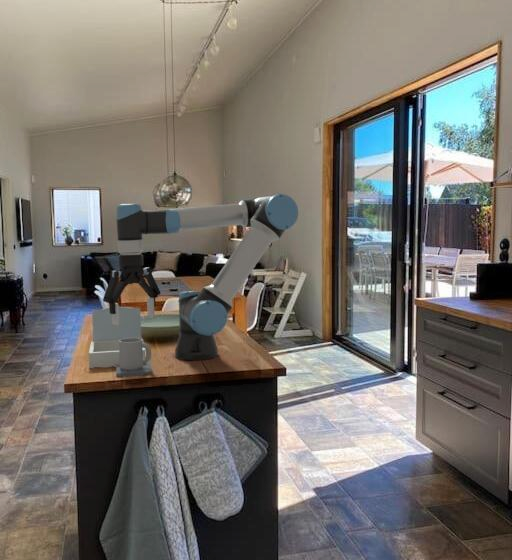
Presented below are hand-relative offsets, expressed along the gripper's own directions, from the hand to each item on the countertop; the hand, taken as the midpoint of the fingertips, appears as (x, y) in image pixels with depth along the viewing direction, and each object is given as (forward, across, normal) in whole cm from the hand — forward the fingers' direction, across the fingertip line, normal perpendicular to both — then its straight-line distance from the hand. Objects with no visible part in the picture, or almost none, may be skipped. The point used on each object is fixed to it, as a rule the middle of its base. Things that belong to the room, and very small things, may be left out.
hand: (134, 320), depth 178 cm
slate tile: (+16, +1, 0) cm, 16 cm away
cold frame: (+16, -6, -19) cm, 25 cm away
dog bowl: (+17, -48, -79) cm, 94 cm away
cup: (+15, 0, 0) cm, 15 cm away
